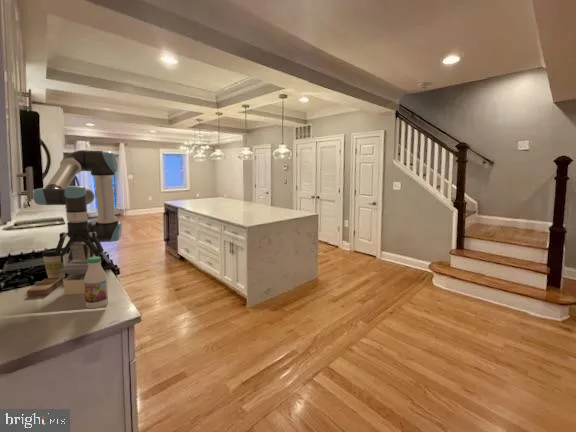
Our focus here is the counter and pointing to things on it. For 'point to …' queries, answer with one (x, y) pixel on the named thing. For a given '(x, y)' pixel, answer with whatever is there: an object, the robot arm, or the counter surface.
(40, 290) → the stand
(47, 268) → the coffee cup
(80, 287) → the tub
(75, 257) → the coffee box
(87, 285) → the milk bottle
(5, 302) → the counter surface
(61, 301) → the counter surface
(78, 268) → the lid
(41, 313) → the counter surface
